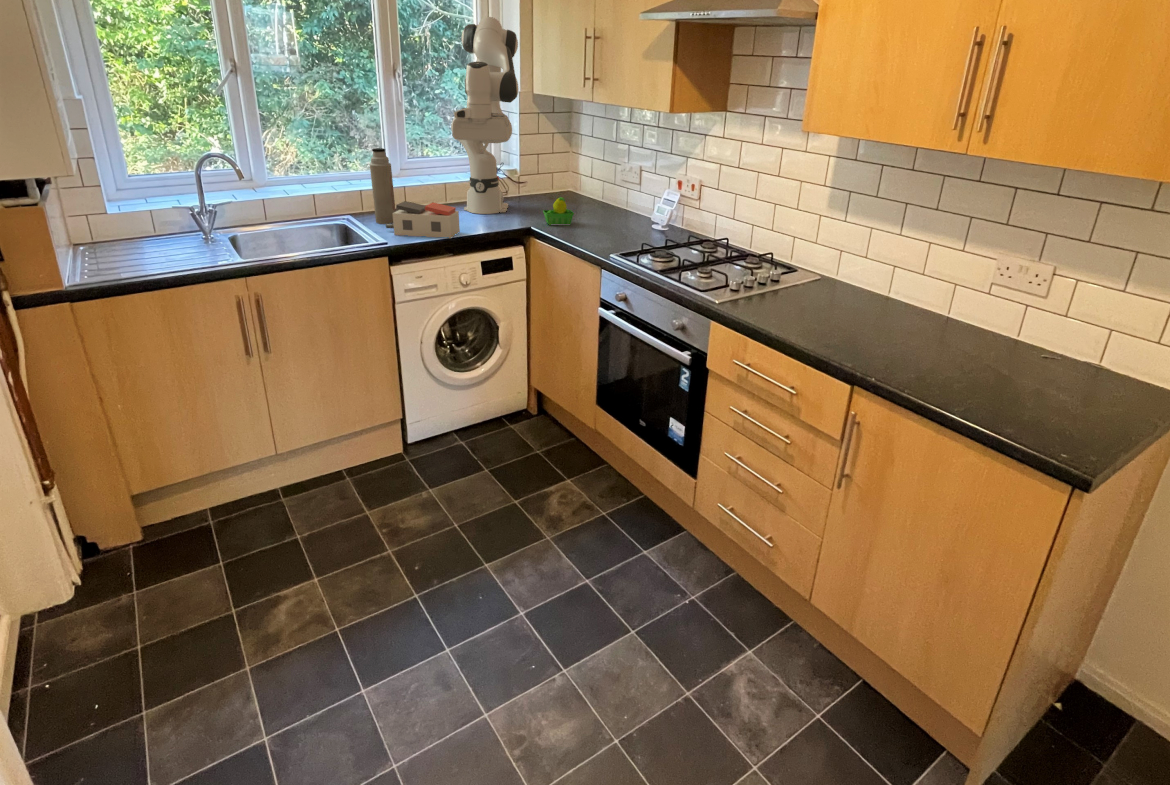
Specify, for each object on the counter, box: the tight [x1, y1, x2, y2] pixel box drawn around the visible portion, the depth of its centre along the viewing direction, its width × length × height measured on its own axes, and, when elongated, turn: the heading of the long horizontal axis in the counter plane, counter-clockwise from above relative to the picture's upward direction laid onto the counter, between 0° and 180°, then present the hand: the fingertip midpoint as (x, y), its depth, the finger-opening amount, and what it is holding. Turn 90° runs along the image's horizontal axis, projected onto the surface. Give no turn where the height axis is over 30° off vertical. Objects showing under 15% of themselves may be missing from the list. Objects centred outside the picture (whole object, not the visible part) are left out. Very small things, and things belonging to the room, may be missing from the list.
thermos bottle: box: [369, 147, 397, 225], centre depth 279 cm, size 8×8×28 cm
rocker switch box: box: [385, 209, 461, 239], centre depth 267 cm, size 10×27×8 cm, turn 81°
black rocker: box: [395, 200, 426, 214], centre depth 265 cm, size 8×9×2 cm
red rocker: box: [425, 201, 457, 216], centre depth 263 cm, size 8×9×2 cm
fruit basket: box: [542, 196, 574, 225], centre depth 283 cm, size 11×9×11 cm
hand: (481, 153), depth 257 cm, fingers closed
